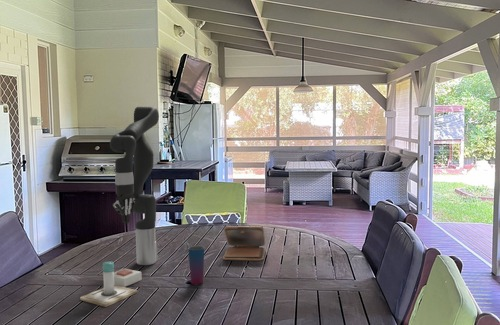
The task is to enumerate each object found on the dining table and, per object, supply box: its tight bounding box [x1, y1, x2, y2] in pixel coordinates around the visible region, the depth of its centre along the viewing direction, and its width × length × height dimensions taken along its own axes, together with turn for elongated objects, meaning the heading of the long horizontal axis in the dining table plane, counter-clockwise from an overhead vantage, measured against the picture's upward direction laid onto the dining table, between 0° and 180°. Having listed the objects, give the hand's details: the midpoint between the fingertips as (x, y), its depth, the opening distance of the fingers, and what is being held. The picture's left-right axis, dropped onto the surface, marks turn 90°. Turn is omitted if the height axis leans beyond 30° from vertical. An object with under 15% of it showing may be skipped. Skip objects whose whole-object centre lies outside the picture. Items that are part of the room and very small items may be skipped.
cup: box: [187, 245, 205, 285], centre depth 193 cm, size 7×7×15 cm
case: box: [222, 225, 266, 262], centre depth 232 cm, size 20×21×16 cm
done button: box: [117, 268, 132, 276], centre depth 196 cm, size 4×4×3 cm
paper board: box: [79, 285, 138, 308], centre depth 179 cm, size 16×14×1 cm
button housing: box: [114, 268, 143, 288], centre depth 196 cm, size 10×10×4 cm
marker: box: [102, 261, 115, 295], centre depth 179 cm, size 4×4×12 cm
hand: (126, 223), depth 195 cm, fingers closed
